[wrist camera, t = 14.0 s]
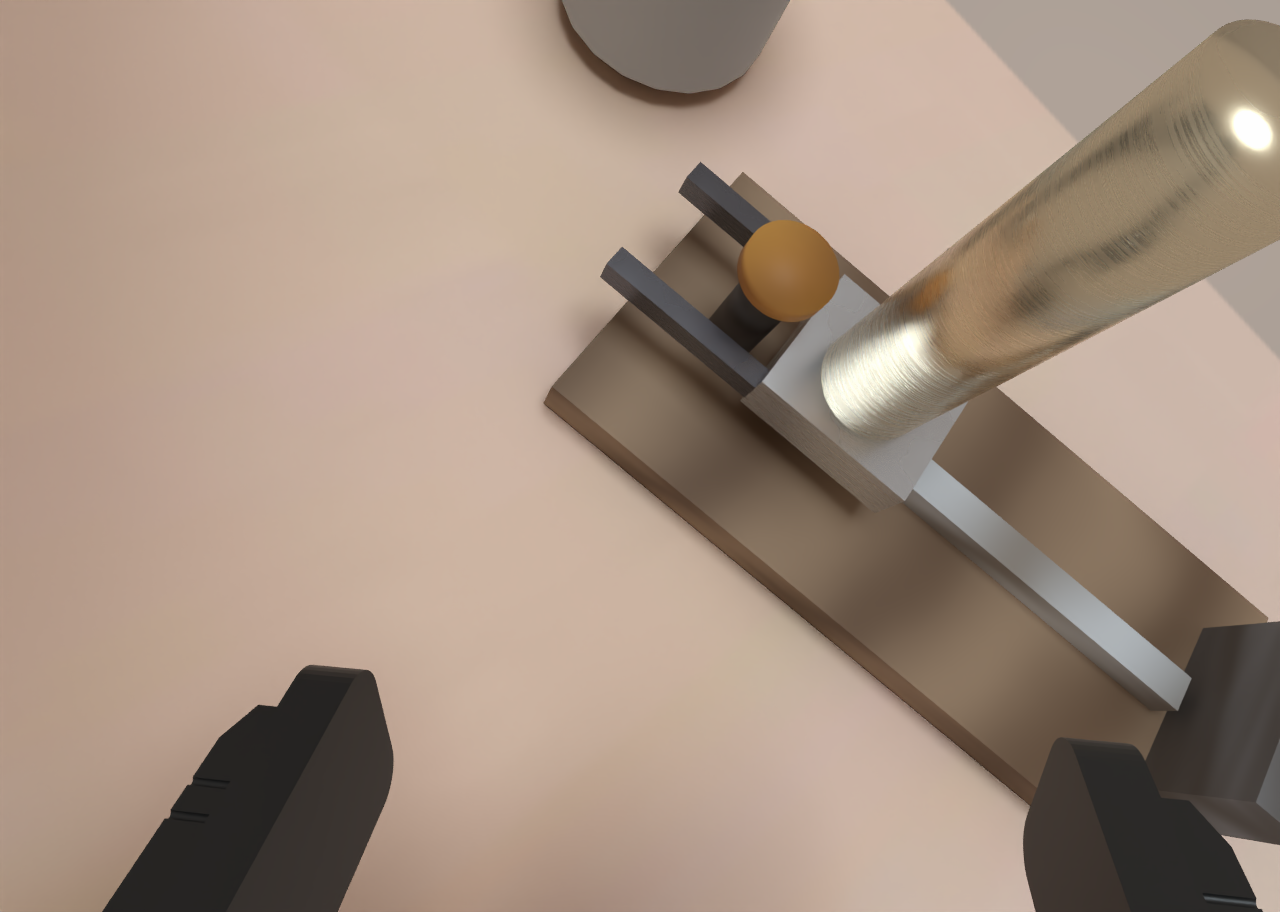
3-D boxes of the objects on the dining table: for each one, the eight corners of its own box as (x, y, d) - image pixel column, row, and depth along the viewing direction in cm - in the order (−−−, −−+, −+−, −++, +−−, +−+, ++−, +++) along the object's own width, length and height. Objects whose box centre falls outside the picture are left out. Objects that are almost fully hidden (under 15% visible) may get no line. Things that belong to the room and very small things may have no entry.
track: (543, 402, 26) (584, 320, 20) (726, 196, 30) (804, 77, 24) (1119, 879, 27) (1312, 927, 21) (1228, 621, 31) (1418, 604, 25)
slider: (597, 283, 24) (812, -164, 12) (687, 184, 26) (962, -301, 13) (873, 514, 25) (1371, 323, 12) (945, 403, 26) (1450, 132, 14)
